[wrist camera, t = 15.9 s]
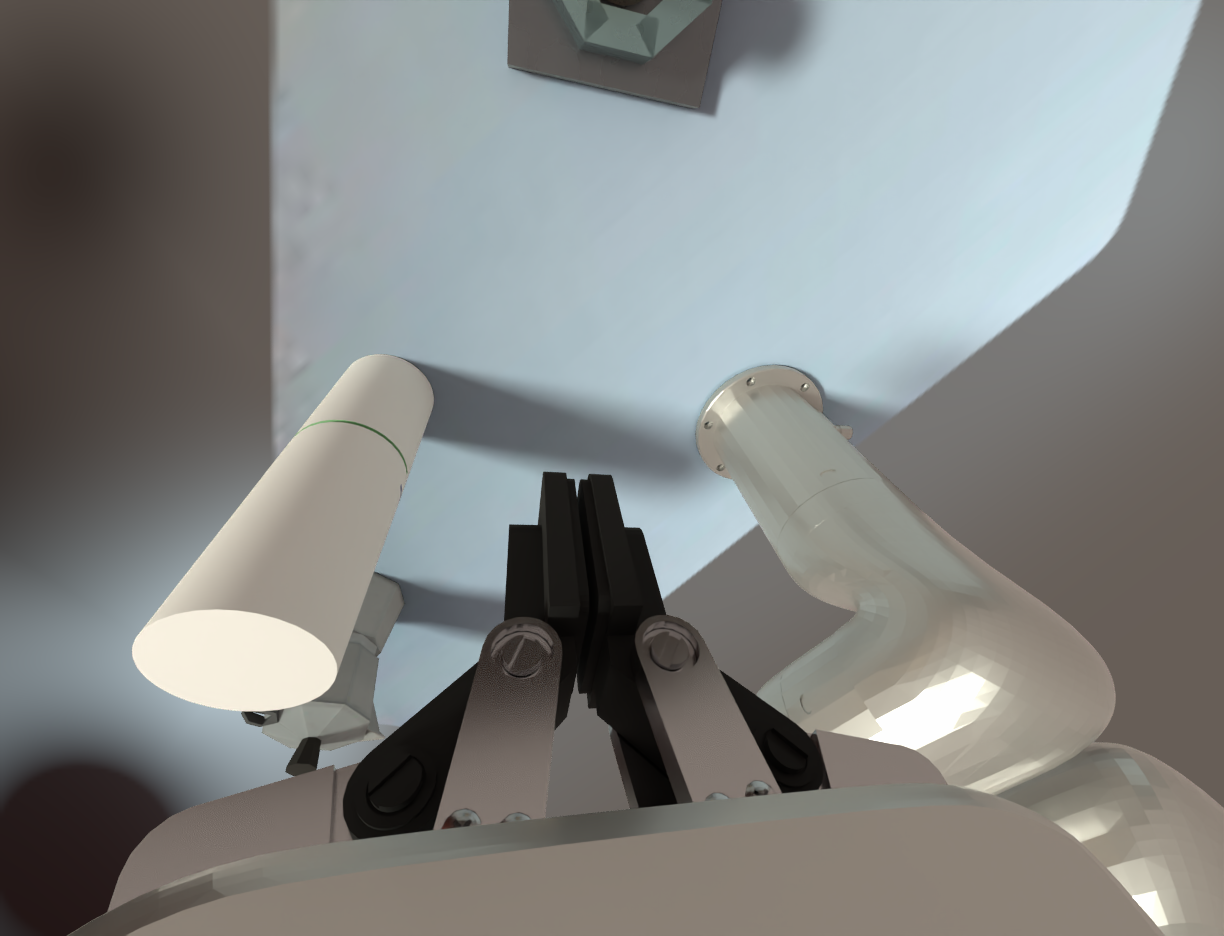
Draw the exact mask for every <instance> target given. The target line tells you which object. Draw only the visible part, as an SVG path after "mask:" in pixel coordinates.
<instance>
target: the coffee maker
mask: <svg viewBox="0 0 1224 936" xmlns="http://www.w3.org/2000/svg"><path fill="white" fill-rule="evenodd" d="M404 604H405V603H404V600H403V596H402V593H401V590H400V587H399V584H398V583H395V582H393V581H391V580H389V579H387V578H385V577H383V576H381V575H379V574H377V573H375V572H374V573H373V575H372V578H371V581H370V584H369V587H368V589H367V592H366V595H365V598H364V601H363V603H362V606H361V609H360V612H359V615H358V617H357V620H356V623H355V626H354V629H353V631H352V634H351V637H350V640H349V642H348V645H347V648H346V651H345V654H344V656H343V659H342V662H341V665H340V668H339V670H338V673H337V676H336V679H335V681H334V683H333V684H332V685H331V687H330V688H329V689H328V690H327V691H326V692H324V693H323V694H322V695H321V696H319V697H317V698H315V699H313V700H311V701H309V702H307V703H304V704H301V705H298V706H295V707H290V708H285V709H280V710H271V711H242V713H241V714H242V716H243V718H244V720H245V722H246V723H247V724H250V725H255V726H258V727H262V726H263V729H262V733H263V734H265V735H267V736H269V737H270V738H272V739H274V740H276V741H278V742H280V743H282V744H283V745H285V746H287V747H289V748H296V751H295V753H294V755H293V756H292V758H291V760H290V762H289V763H288V765H287V767H286V772H287V773H288V774H291V775H293V776H298V775H301V774H305V773H308V772H312V771H315V770H316V769H317V764H318V758H319V752H320V750H330V751H331V750H334V749H337V748H340V747H343V746H346V745H349V744H352V743H355V742H361V741H370V740H379V739H384V738H385V737H384V735H382V734H381V732H380V731H379V727H378V722H377V717H376V712H375V708H374V703H373V697H374V690H375V683H376V676H377V668H378V661H379V658H377V656H378V655H379V654H380V653H381V651H382V649H383V647H384V645H385V643H386V641H387V639H388V637H389V635H390V633H391V631H392V629H393V626H394V624H395V622H396V620H397V618H398V616H399V614H400V612H401V610H402V608H403V606H404ZM253 712H256V713H262V714H265V716H261V715H258V714H256V713H253Z"/></svg>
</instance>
